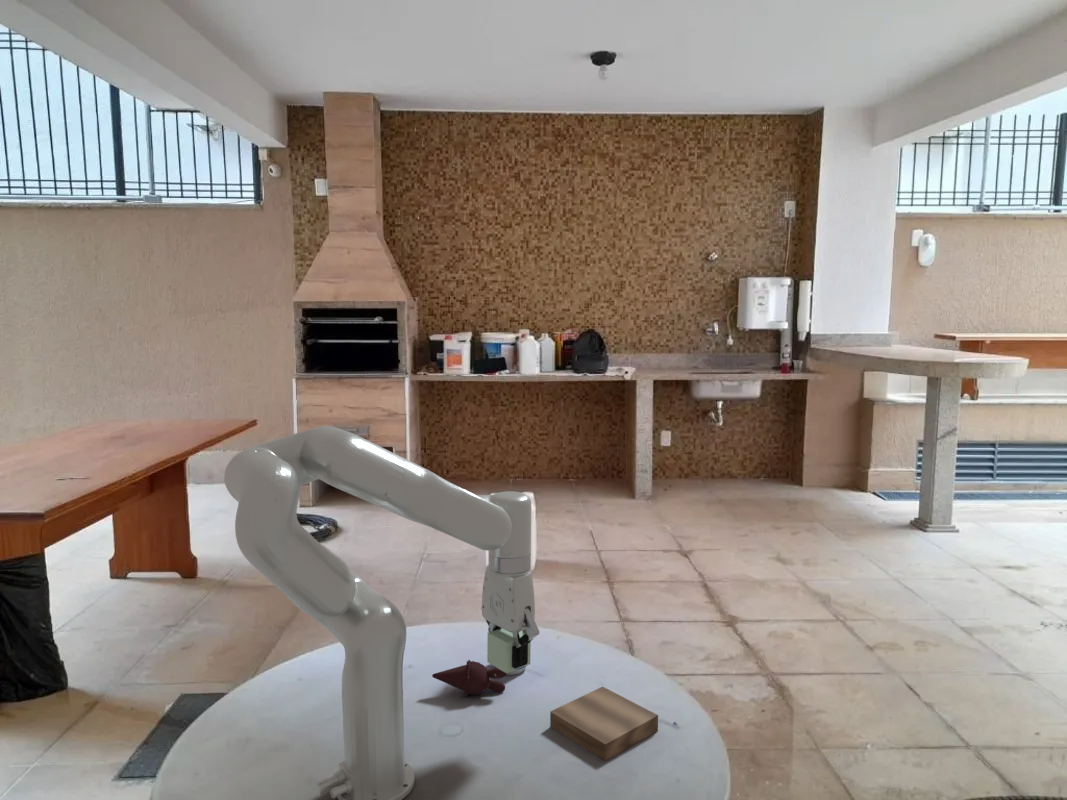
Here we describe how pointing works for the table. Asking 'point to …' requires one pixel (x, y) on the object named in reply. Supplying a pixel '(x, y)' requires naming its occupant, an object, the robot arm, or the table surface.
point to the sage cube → (502, 650)
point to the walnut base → (604, 722)
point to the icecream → (472, 678)
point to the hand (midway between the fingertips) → (508, 658)
